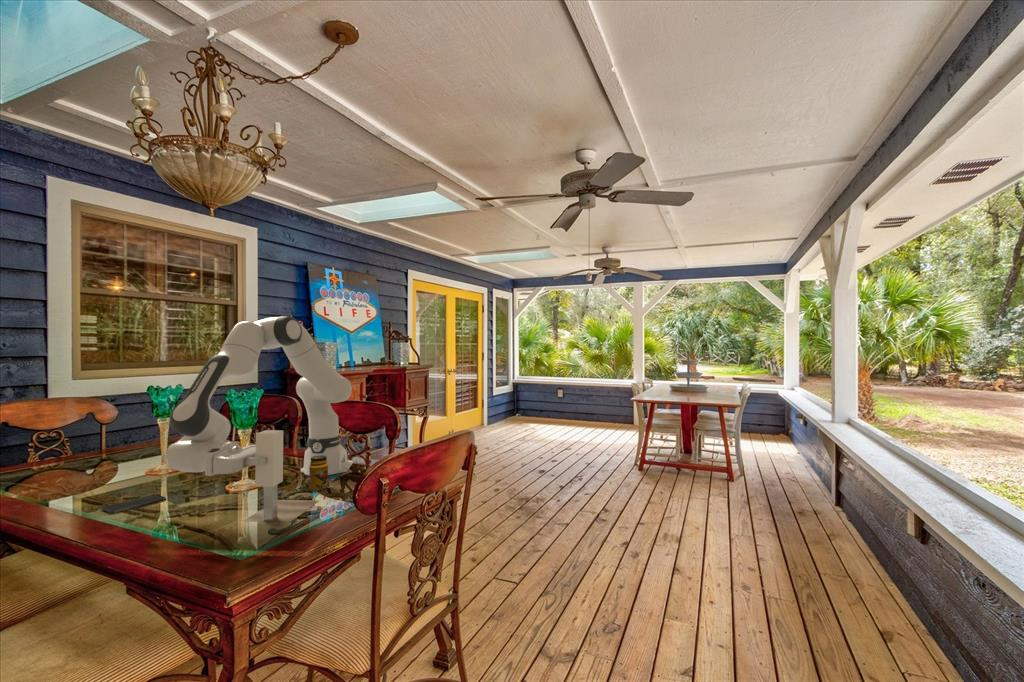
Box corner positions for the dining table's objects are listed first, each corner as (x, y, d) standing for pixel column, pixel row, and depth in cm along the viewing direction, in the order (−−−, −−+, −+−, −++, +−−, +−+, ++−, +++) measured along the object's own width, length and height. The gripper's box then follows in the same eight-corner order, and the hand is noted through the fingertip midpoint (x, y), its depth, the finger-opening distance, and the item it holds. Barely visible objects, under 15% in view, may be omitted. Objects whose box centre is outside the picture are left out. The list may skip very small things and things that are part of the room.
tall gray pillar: (265, 480, 138) (266, 430, 138) (282, 481, 138) (283, 430, 138) (255, 486, 133) (255, 433, 133) (273, 486, 133) (273, 433, 133)
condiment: (326, 493, 162) (326, 458, 162) (300, 494, 161) (300, 459, 161) (331, 487, 169) (331, 453, 169) (306, 488, 168) (306, 454, 168)
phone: (167, 498, 155) (110, 512, 142) (167, 501, 155) (110, 515, 142) (156, 493, 159) (100, 507, 146) (156, 497, 159) (100, 510, 146)
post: (268, 517, 137) (268, 482, 137) (277, 517, 137) (277, 483, 137) (263, 520, 135) (263, 485, 135) (272, 520, 134) (272, 485, 134)
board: (276, 503, 152) (276, 500, 152) (319, 503, 152) (319, 500, 152) (242, 524, 134) (242, 521, 134) (290, 525, 134) (290, 521, 134)
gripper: (247, 458, 146) (290, 459, 146) (201, 477, 126) (252, 478, 125) (247, 438, 146) (290, 439, 146) (201, 454, 126) (252, 455, 125)
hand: (272, 457), depth 136 cm, fingers closed on tall gray pillar, 5 cm apart
